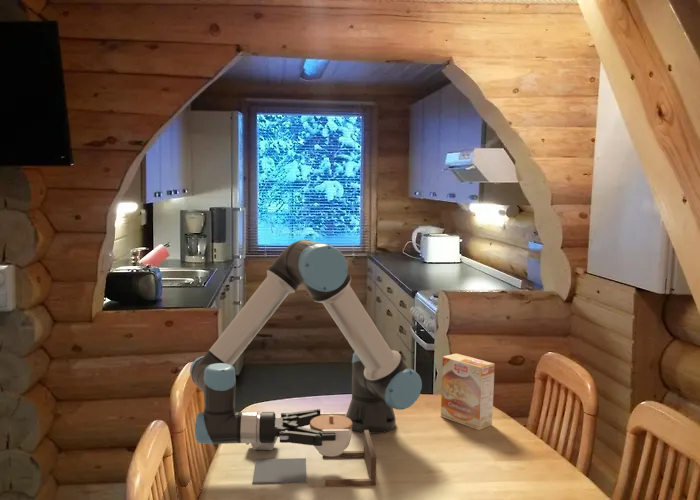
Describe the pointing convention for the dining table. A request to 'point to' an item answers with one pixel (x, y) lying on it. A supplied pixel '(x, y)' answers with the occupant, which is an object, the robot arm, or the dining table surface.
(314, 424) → the lidded jar
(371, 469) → the shelf lane
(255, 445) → the die
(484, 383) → the coffeecake box
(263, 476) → the pad
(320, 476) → the dining table surface
